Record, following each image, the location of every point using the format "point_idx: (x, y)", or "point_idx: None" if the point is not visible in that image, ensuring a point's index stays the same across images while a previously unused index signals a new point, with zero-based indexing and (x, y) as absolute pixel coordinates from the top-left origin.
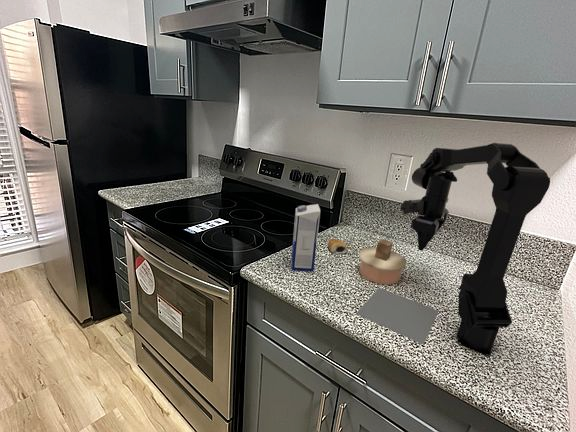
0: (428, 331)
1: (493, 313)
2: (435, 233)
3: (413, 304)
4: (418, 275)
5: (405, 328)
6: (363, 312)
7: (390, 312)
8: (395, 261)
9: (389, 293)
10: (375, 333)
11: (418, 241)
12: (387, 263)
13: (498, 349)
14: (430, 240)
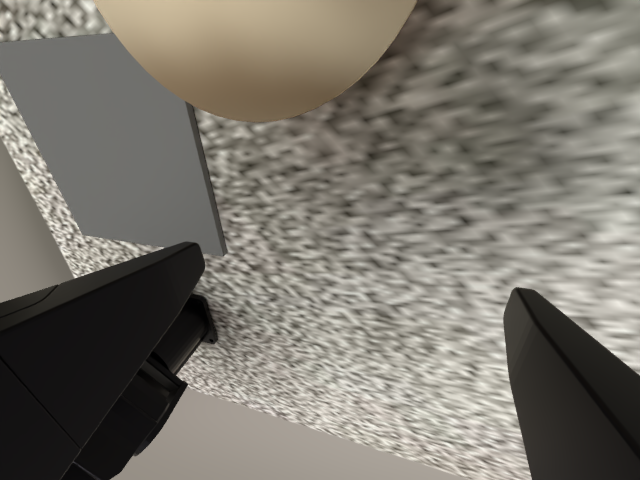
0: (124, 239)
1: (173, 391)
2: (530, 459)
3: (187, 188)
4: (464, 152)
5: (82, 192)
6: (11, 63)
7: (91, 138)
8: (245, 39)
9: (170, 91)
10: (15, 131)
11: (91, 278)
12: (166, 1)
13: (211, 345)
14: (505, 330)
